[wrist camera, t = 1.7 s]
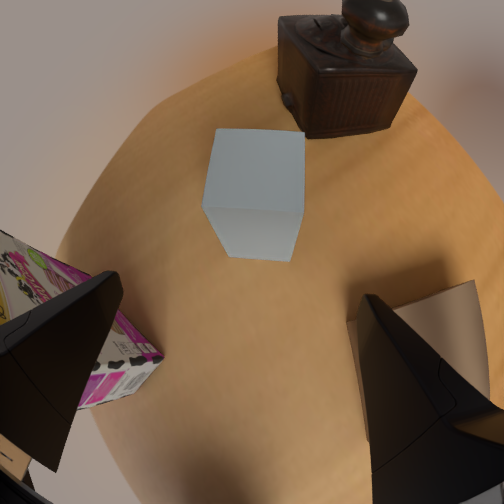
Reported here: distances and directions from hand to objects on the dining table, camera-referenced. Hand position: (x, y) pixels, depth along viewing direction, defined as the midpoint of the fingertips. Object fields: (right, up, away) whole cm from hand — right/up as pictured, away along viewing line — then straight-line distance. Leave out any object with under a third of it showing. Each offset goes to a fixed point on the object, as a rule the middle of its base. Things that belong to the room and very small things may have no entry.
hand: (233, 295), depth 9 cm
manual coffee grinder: (+10, +16, +18) cm, 26 cm away
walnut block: (+15, -8, +11) cm, 20 cm away
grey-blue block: (+1, +3, +15) cm, 15 cm away
